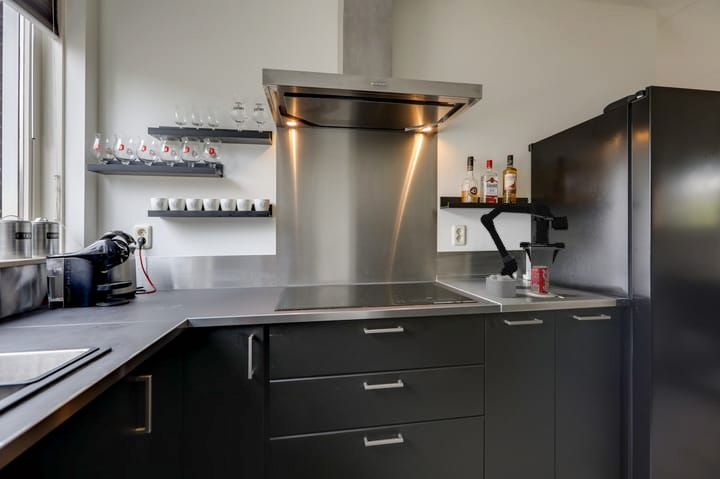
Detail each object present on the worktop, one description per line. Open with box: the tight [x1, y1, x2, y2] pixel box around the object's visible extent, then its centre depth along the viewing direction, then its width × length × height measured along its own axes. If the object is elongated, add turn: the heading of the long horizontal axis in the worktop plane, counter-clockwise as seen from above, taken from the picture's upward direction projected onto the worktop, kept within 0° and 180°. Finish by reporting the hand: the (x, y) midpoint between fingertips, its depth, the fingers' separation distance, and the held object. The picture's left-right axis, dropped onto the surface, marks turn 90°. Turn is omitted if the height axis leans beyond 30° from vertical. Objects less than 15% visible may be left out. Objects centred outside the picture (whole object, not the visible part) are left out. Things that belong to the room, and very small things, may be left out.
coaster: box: [525, 291, 556, 299], centre depth 138 cm, size 11×11×1 cm
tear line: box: [550, 292, 565, 299], centre depth 137 cm, size 12×1×1 cm, turn 175°
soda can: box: [530, 265, 550, 295], centre depth 138 cm, size 7×7×12 cm
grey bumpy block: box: [485, 274, 517, 299], centre depth 138 cm, size 10×13×9 cm
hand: (541, 263), depth 151 cm, fingers open, 9 cm apart
